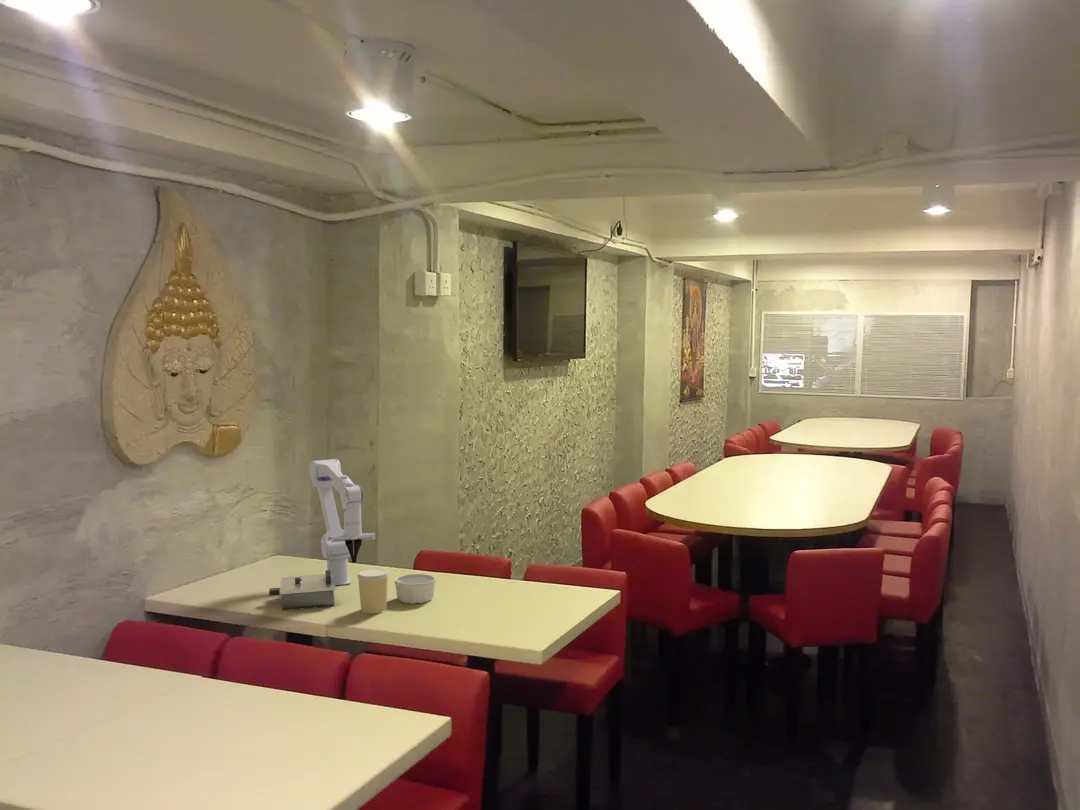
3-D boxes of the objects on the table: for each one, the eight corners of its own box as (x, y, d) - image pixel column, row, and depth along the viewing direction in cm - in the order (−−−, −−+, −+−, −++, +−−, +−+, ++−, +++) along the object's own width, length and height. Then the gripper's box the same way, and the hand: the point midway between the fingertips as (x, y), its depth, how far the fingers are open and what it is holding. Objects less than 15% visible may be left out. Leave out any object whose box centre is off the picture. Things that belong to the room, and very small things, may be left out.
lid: (281, 580, 290) (281, 570, 290) (334, 576, 294) (333, 566, 294) (279, 594, 274) (279, 583, 273) (335, 590, 278) (334, 579, 278)
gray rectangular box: (271, 597, 289) (270, 582, 289) (333, 592, 294) (332, 577, 294) (268, 611, 274) (268, 595, 273) (334, 606, 279) (333, 590, 278)
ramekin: (431, 592, 293) (431, 571, 293) (439, 603, 281) (439, 581, 281) (392, 596, 289) (391, 575, 289) (398, 607, 277) (398, 585, 276)
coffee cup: (392, 605, 278) (391, 568, 277) (384, 615, 269) (383, 576, 268) (363, 605, 279) (362, 568, 278) (354, 614, 270) (353, 576, 269)
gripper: (330, 525, 286) (332, 566, 287) (375, 522, 290) (376, 563, 291) (330, 521, 293) (331, 561, 294) (374, 518, 297) (375, 558, 298)
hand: (353, 562), depth 293 cm, fingers closed
